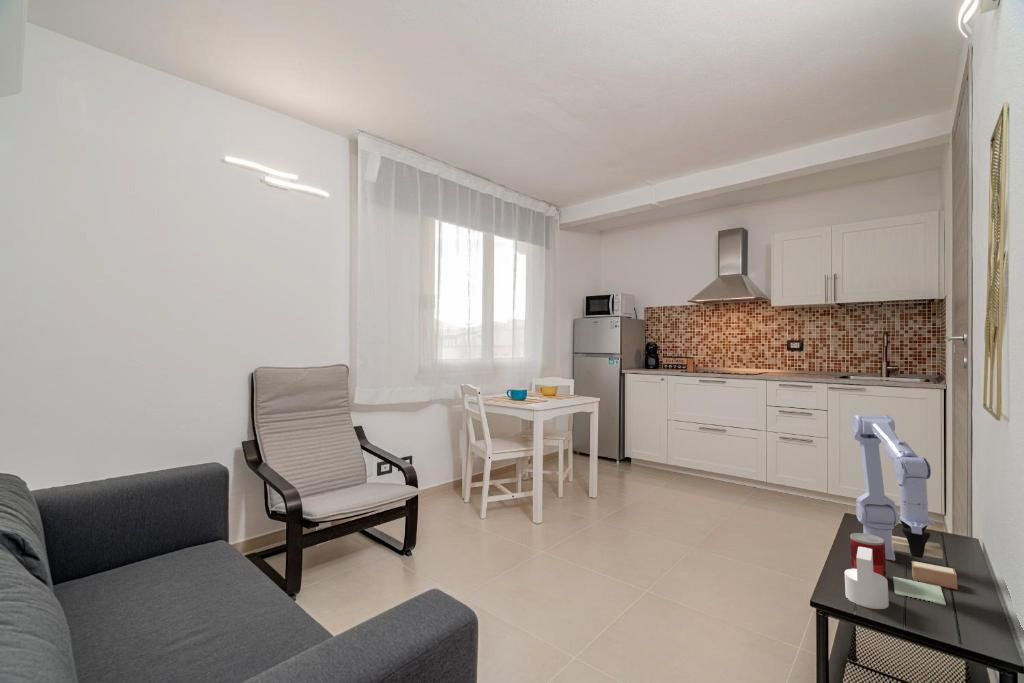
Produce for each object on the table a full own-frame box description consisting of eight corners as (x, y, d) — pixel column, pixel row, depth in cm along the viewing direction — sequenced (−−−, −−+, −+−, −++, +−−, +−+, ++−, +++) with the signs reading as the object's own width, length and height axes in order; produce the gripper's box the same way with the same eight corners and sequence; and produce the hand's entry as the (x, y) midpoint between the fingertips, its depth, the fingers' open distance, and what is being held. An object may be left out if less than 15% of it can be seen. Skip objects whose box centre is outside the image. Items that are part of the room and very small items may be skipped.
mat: (893, 577, 133) (893, 576, 133) (940, 587, 127) (940, 586, 127) (894, 594, 124) (894, 592, 124) (945, 605, 118) (945, 604, 118)
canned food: (892, 583, 130) (890, 543, 130) (860, 581, 131) (858, 542, 132) (877, 571, 137) (875, 533, 138) (846, 569, 139) (844, 532, 139)
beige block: (891, 542, 131) (891, 535, 131) (939, 551, 125) (939, 543, 125) (892, 549, 127) (892, 542, 127) (942, 558, 121) (942, 551, 121)
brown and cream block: (912, 574, 135) (911, 560, 135) (954, 583, 129) (954, 568, 129) (913, 580, 131) (912, 566, 131) (957, 589, 126) (956, 574, 126)
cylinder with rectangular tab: (846, 587, 128) (844, 543, 129) (888, 597, 122) (886, 551, 123) (844, 601, 121) (841, 554, 122) (888, 613, 116) (886, 563, 116)
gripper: (936, 511, 118) (939, 566, 118) (930, 497, 130) (932, 546, 129) (900, 507, 122) (902, 559, 122) (897, 493, 134) (899, 541, 133)
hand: (916, 552), depth 126 cm, fingers closed on beige block, 6 cm apart
